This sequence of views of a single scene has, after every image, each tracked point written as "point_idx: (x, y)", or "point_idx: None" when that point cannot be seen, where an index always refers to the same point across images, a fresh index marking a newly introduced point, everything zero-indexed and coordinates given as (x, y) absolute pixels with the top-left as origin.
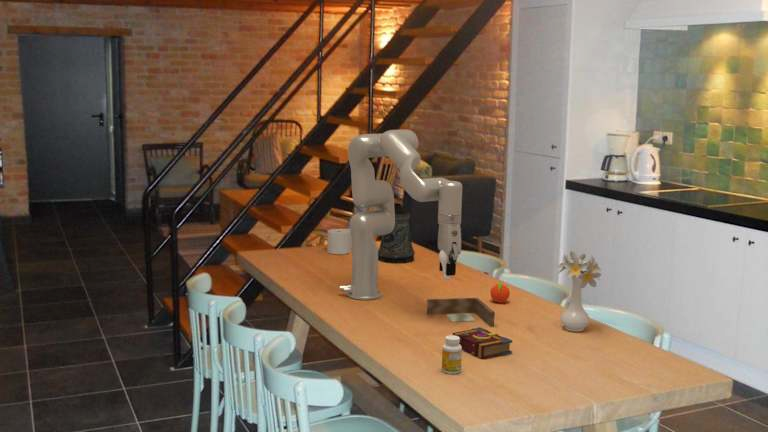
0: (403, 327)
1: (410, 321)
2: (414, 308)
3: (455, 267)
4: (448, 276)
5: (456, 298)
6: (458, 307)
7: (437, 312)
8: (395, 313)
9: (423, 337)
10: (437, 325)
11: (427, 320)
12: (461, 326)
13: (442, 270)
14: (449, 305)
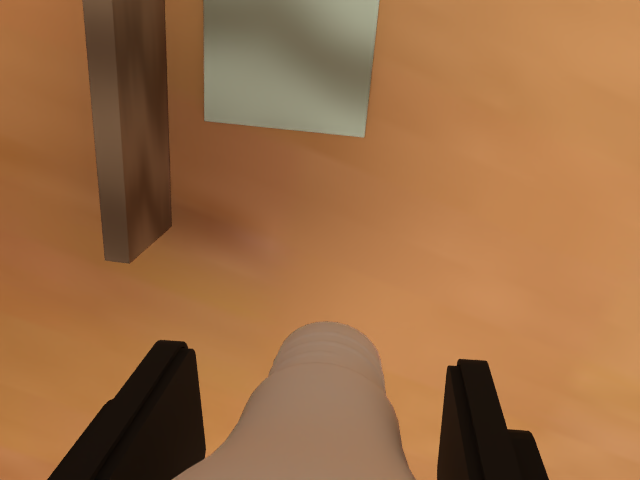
0: None
1: None
2: (41, 252)
3: (515, 459)
4: (385, 392)
5: (87, 17)
6: (145, 7)
7: (164, 167)
8: None
9: (593, 408)
10: (405, 256)
11: (291, 273)
12: (474, 116)
13: (202, 436)
14: (140, 87)
